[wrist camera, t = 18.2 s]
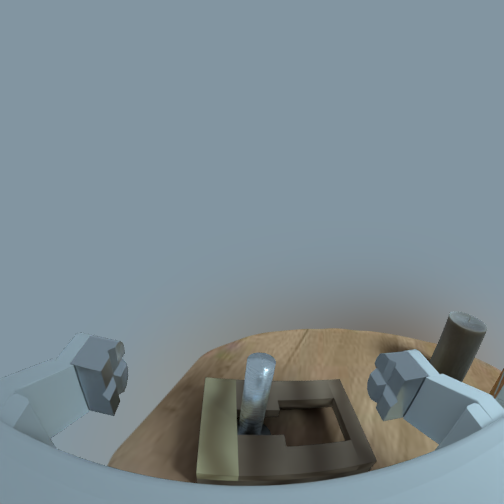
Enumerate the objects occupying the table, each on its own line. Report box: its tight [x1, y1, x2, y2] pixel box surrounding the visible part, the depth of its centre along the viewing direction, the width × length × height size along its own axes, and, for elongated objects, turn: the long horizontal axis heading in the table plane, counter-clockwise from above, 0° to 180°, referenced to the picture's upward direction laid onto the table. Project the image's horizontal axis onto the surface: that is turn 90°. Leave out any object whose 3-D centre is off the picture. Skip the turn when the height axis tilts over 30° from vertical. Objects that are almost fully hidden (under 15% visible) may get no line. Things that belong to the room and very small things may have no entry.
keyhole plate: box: [196, 377, 377, 486], centre depth 32 cm, size 21×17×4 cm
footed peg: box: [237, 353, 276, 435], centre depth 30 cm, size 6×6×15 cm
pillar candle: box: [429, 312, 487, 382], centre depth 43 cm, size 10×10×15 cm
